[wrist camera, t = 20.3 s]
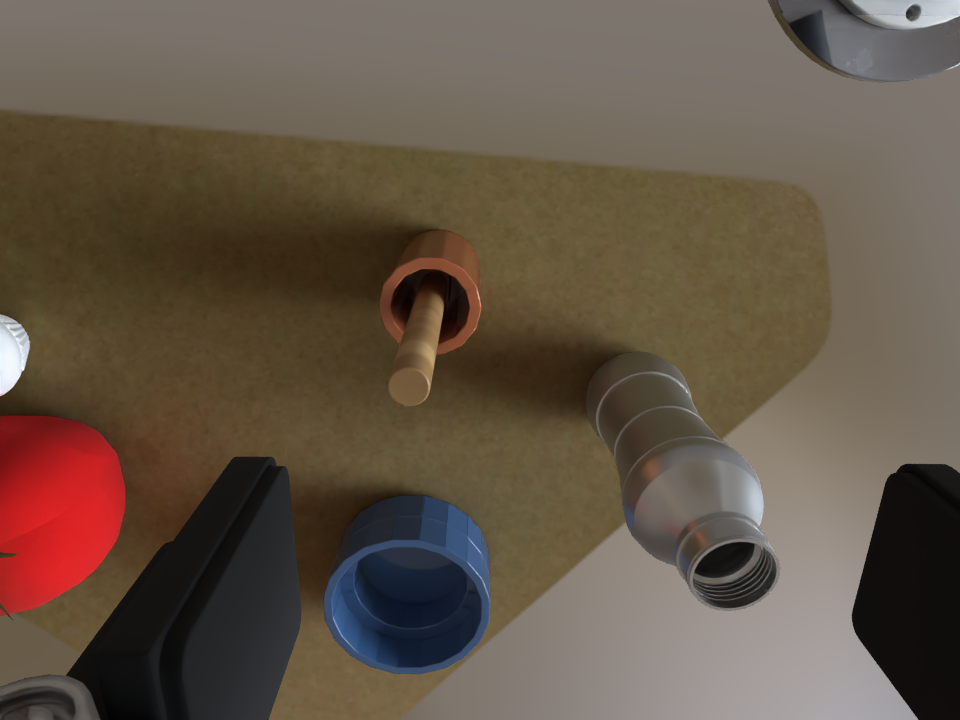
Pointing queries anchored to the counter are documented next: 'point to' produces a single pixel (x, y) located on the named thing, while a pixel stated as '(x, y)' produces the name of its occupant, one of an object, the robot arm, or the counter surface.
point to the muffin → (12, 352)
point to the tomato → (54, 507)
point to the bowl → (409, 586)
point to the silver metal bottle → (682, 482)
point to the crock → (465, 287)
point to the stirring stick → (420, 340)
